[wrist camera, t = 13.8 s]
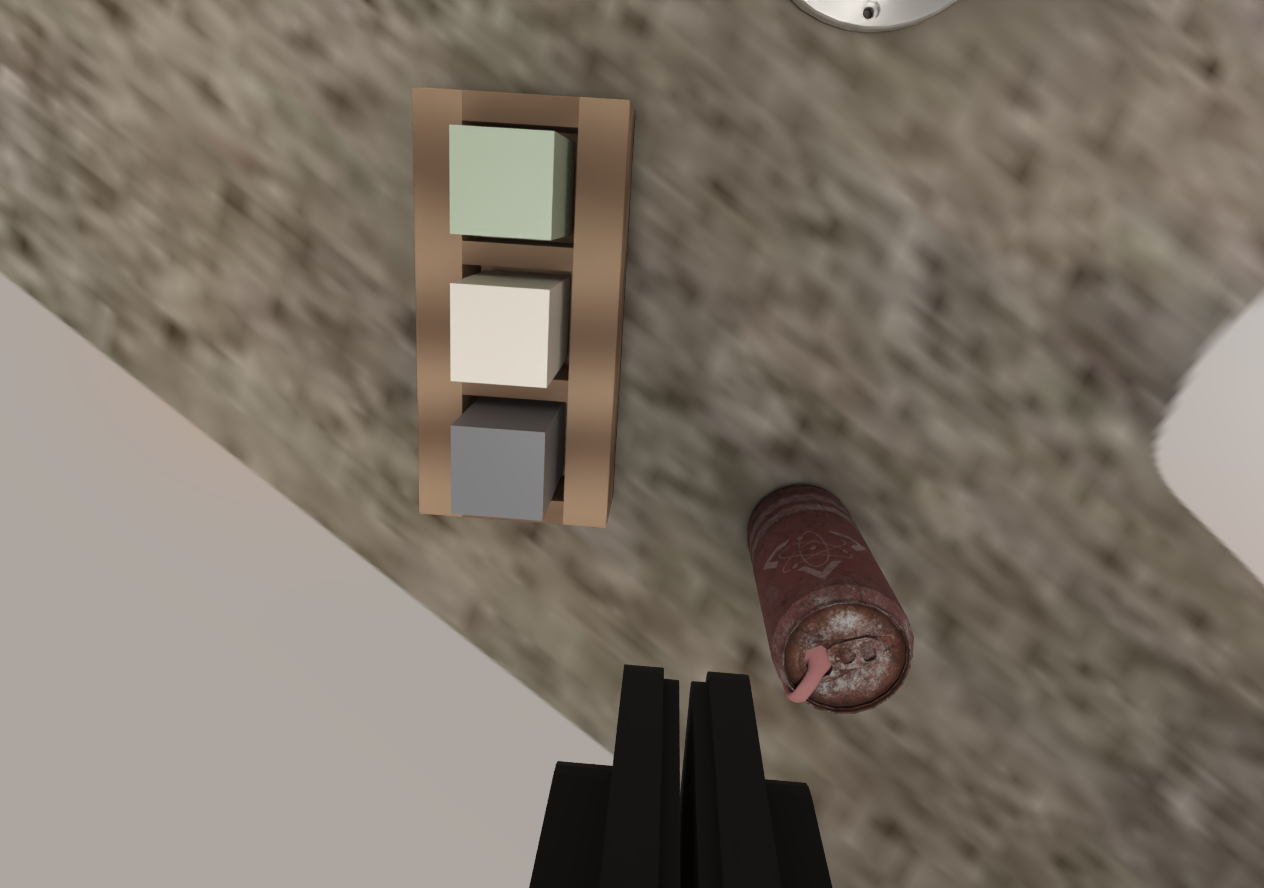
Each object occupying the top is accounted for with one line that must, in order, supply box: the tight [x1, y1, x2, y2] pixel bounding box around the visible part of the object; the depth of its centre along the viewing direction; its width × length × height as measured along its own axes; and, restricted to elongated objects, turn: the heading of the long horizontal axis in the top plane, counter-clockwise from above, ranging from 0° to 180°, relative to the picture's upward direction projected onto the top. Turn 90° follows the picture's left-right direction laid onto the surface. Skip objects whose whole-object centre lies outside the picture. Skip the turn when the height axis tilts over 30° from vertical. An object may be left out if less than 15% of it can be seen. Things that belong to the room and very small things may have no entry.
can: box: [748, 486, 914, 714], centre depth 41 cm, size 6×6×14 cm
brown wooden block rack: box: [412, 87, 635, 528], centre depth 42 cm, size 21×10×5 cm, turn 176°
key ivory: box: [450, 270, 570, 388], centre depth 39 cm, size 4×4×7 cm
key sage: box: [449, 125, 575, 240], centre depth 37 cm, size 4×4×7 cm
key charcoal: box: [451, 396, 565, 521], centre depth 41 cm, size 4×4×7 cm
